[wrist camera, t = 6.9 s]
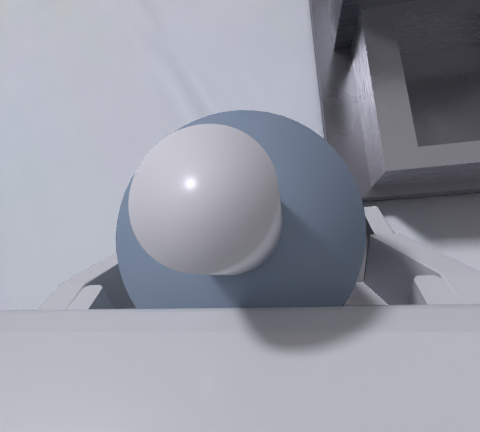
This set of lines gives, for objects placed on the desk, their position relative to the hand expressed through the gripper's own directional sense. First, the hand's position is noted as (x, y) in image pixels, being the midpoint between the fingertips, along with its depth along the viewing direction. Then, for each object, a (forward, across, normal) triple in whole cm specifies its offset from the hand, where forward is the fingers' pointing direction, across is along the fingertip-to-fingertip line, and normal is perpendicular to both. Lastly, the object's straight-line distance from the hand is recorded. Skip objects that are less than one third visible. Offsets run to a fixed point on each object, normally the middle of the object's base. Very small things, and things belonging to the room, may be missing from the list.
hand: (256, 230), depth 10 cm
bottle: (+3, 0, +4) cm, 5 cm away
